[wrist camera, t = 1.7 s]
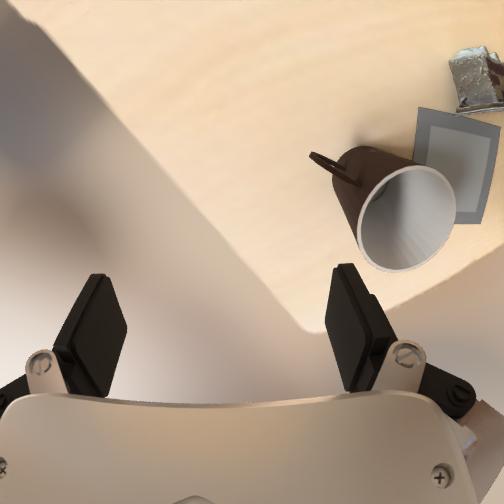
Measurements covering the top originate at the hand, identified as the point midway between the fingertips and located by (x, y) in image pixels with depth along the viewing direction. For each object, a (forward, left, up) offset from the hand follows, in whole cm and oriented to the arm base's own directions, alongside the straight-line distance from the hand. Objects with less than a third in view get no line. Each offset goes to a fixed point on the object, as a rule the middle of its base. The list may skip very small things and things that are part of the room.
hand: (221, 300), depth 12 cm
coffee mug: (0, +12, -18) cm, 22 cm away
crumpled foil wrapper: (-12, +31, -20) cm, 39 cm away
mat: (0, +25, -18) cm, 31 cm away
